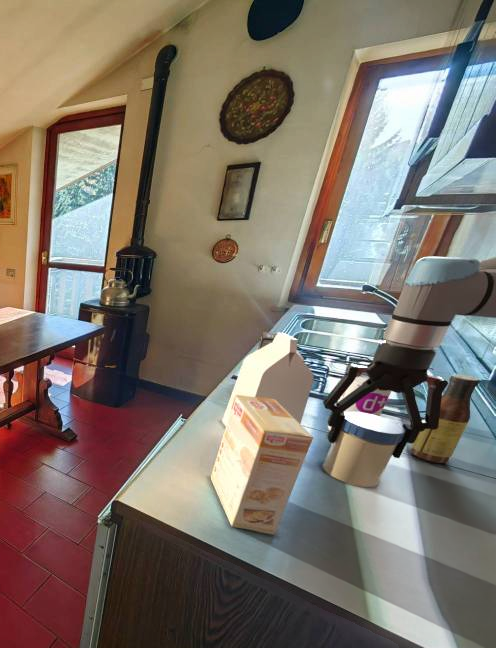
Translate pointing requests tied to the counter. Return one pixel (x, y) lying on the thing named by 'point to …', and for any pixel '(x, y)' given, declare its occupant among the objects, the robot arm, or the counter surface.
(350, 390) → the supplement can
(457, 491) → the counter surface
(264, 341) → the coffee box
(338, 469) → the jar
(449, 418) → the sauce bottle
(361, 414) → the lid
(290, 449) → the coffeecake box
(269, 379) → the milk
